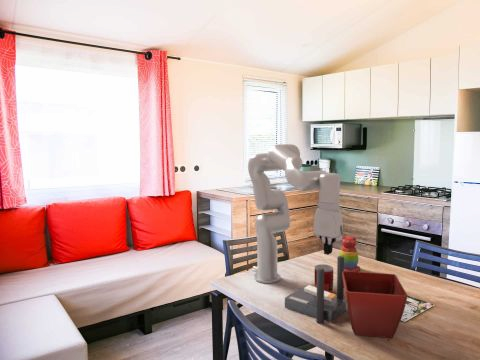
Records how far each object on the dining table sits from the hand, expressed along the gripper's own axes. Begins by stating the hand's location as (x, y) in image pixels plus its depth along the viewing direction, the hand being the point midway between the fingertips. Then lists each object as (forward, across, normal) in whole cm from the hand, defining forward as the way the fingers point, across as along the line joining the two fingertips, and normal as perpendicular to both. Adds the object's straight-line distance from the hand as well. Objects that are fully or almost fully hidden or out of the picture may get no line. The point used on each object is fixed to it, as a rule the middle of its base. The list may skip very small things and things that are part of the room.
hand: (327, 253), depth 140 cm
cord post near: (+23, +2, -9) cm, 25 cm away
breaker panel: (+23, -4, -1) cm, 24 cm away
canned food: (+24, -9, +16) cm, 30 cm away
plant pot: (+23, +18, -2) cm, 29 cm away
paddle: (+16, -2, -1) cm, 17 cm away
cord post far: (+23, +2, +8) cm, 25 cm away
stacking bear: (+24, -11, +47) cm, 54 cm away
